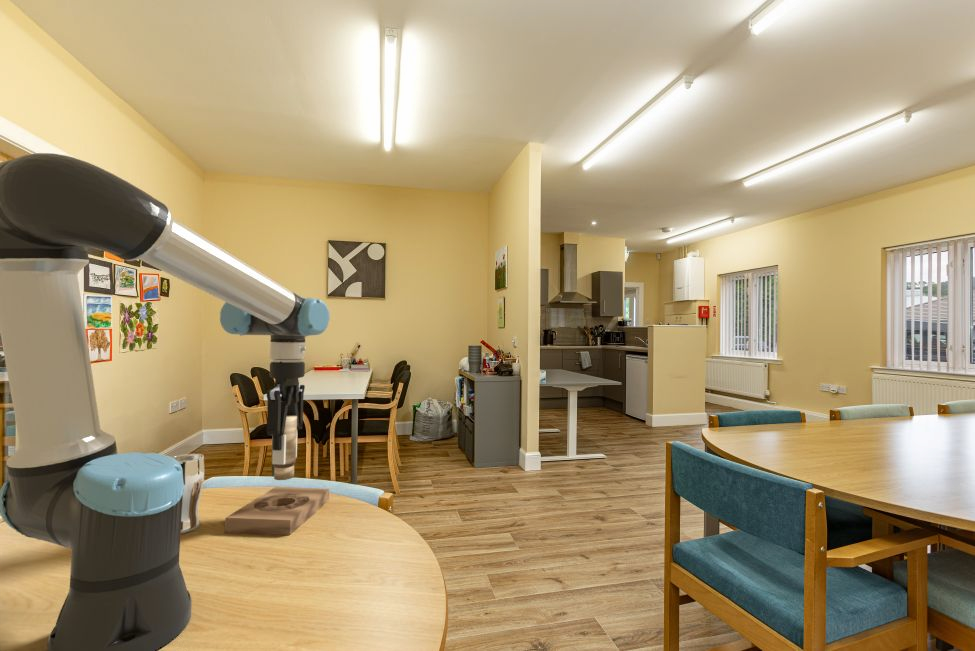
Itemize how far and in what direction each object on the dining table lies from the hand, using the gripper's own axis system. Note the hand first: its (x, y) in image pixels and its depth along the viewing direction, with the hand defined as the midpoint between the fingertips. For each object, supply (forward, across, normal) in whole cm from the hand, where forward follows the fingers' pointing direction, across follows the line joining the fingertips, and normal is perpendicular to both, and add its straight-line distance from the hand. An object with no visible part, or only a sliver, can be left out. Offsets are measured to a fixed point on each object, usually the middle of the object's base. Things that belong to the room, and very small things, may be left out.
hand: (284, 460), depth 103 cm
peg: (+4, 0, 0) cm, 4 cm away
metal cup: (+13, -9, +17) cm, 23 cm away
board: (+13, 0, 0) cm, 13 cm away
